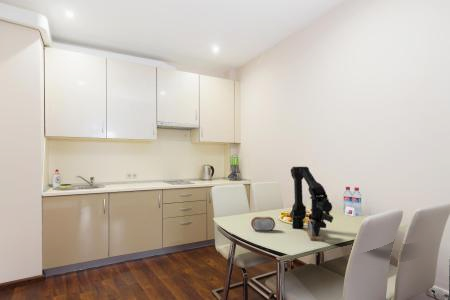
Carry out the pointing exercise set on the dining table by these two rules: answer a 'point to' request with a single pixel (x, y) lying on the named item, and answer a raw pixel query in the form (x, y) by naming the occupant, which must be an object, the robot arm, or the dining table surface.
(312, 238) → the header board
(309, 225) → the plug
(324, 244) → the dining table surface
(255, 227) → the tin
